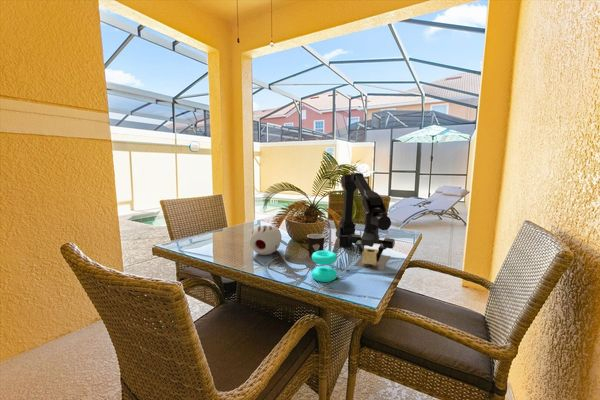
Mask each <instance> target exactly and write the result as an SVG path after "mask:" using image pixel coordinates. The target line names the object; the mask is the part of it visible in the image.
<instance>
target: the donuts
mask: <svg viewBox="0 0 600 400" xmlns="http://www.w3.org/2000/svg"><path fill="white" fill-rule="evenodd" d="M311 260H312V261H313V262H314V263H315V264H317V265H320V266H318V267H315V268H314V269H313V270H312V271H311V277H312V278H313V279H314V281H317V282H321V283H327V282H328V283H329V282H332V281H334V280H336V278H337V277H338V273H337V271H336V270H335V269H334V268H332V267H331V266H330V267H329V265H332V264H335V263H336V261H337V260H338V255H337V254H336V253H335V252H333V251H332V250H323V251H316V252H314V253H313V254H312V257H311ZM321 265H322V266H321ZM323 265H324V266H323Z"/></svg>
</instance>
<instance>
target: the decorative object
mask: <svg viewBox="0 0 600 400" xmlns="http://www.w3.org/2000/svg"><path fill="white" fill-rule="evenodd" d="M281 243H282V233H281V230H280V229H279V228H278V226H272V225H258V226H256V227H254V228H253V229H252V230H251V232H250V234H249V245H250V248H251V249H252V250H253V251H254V252H255V253H256V254H257V255H260V256H268V255H271V254H273V253H274V252H276V251H277V250H278V249H279V248H280V246H281Z"/></svg>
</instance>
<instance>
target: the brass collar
mask: <svg viewBox="0 0 600 400" xmlns="http://www.w3.org/2000/svg"><path fill="white" fill-rule="evenodd" d="M361 257H362V263H365V264H371V265H377V263H378V262H379V261H378V262H377V257H378V249H377V248H375V249H374V248H369V247H364V250H363V251H362V256H361Z"/></svg>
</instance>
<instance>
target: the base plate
mask: <svg viewBox="0 0 600 400" xmlns="http://www.w3.org/2000/svg"><path fill="white" fill-rule="evenodd" d="M390 258H391V256H390V255H384V254H381V257H380V259H379V262H378V263H377V265H371V264H365V263H362V256H361V257H360V258H359V259H358V260H357V261H356V262H355V263H354V265H353V266H354V267H357V268H358V267H359V268H365V269H369V270H376V271H383V270H384V269H385V267H386V265H388V262H389V260H390Z"/></svg>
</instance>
